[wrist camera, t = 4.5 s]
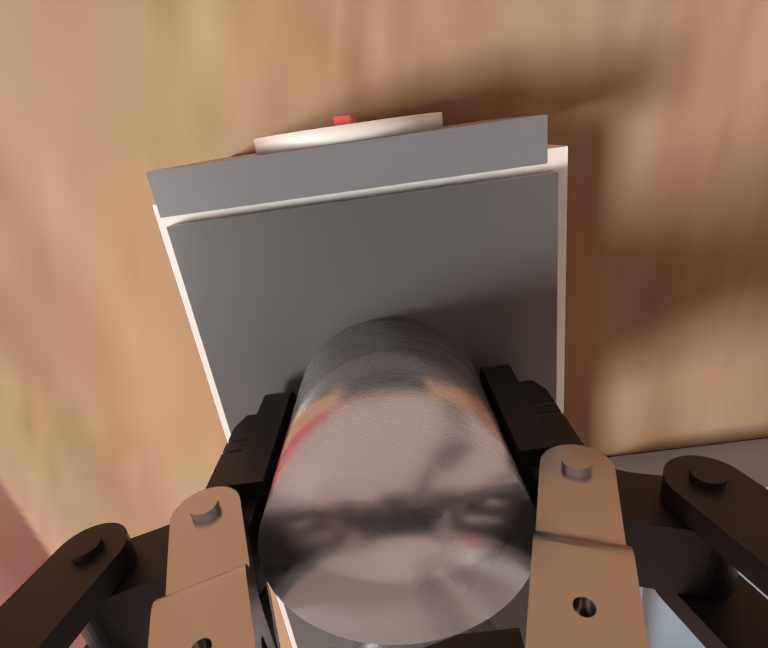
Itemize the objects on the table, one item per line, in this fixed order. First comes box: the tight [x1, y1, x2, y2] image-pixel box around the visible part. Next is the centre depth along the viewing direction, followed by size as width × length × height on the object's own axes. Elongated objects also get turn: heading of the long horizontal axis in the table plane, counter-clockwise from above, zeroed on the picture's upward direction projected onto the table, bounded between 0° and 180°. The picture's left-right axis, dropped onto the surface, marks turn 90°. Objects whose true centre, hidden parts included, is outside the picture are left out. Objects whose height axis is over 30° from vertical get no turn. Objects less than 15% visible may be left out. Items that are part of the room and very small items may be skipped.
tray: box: [608, 438, 768, 648], centre depth 18 cm, size 12×12×2 cm
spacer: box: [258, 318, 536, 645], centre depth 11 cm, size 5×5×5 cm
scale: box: [146, 112, 568, 648], centre depth 16 cm, size 29×10×5 cm, turn 8°
